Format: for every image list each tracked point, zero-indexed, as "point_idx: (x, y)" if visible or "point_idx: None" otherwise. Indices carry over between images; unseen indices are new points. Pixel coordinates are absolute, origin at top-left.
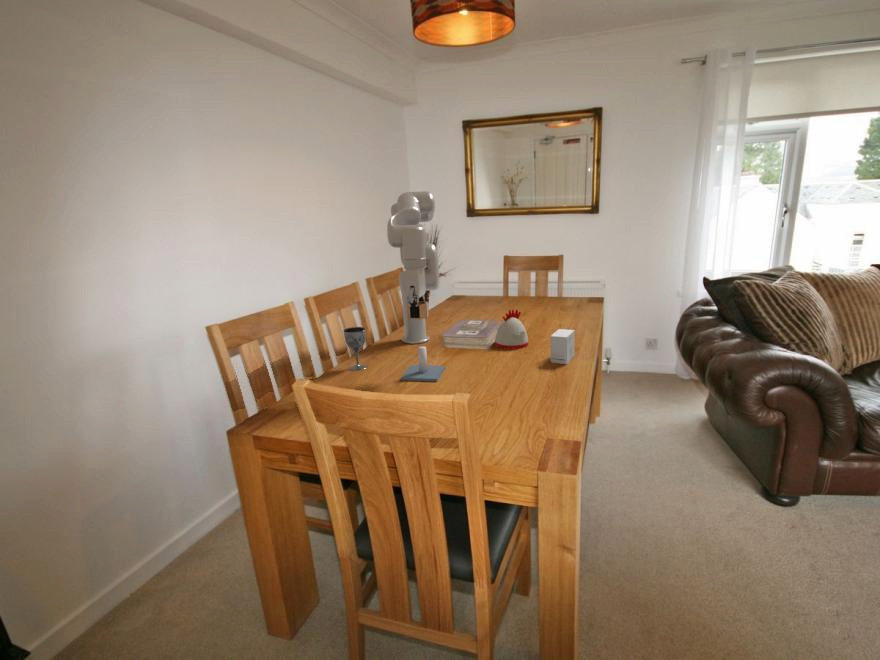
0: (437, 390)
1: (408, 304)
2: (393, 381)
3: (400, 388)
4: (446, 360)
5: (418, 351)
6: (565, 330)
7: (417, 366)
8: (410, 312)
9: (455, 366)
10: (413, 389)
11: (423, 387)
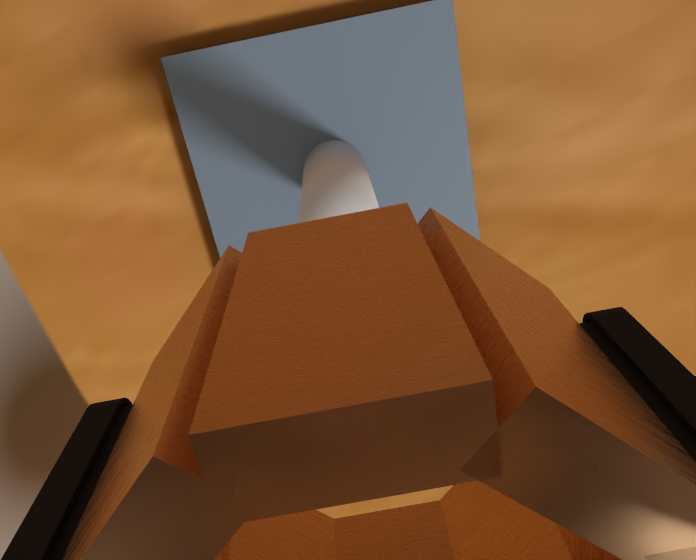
0: (115, 358)
1: (83, 555)
2: (124, 4)
3: (33, 127)
4: (647, 206)
5: (306, 201)
6: None
7: (430, 73)
8: (53, 483)
9: None
10: (61, 221)
11: (119, 266)
